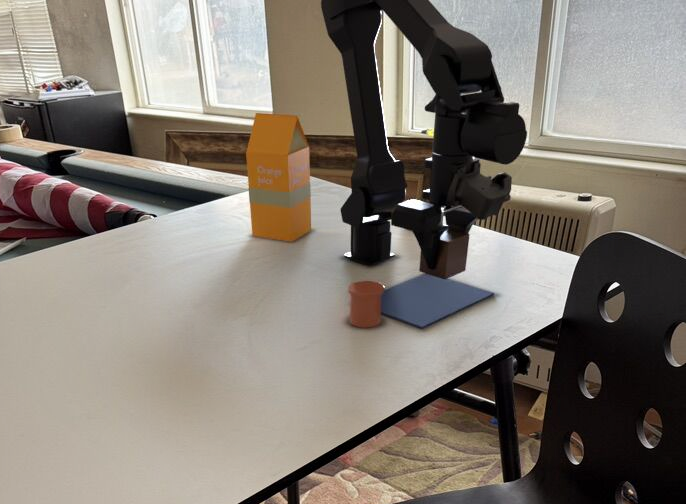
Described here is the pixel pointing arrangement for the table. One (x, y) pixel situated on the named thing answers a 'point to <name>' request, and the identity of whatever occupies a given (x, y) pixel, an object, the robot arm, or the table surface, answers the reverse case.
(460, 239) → the walnut block
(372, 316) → the terracotta pot
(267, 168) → the orange juice
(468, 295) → the cloth
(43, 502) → the table surface
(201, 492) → the table surface
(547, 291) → the table surface
